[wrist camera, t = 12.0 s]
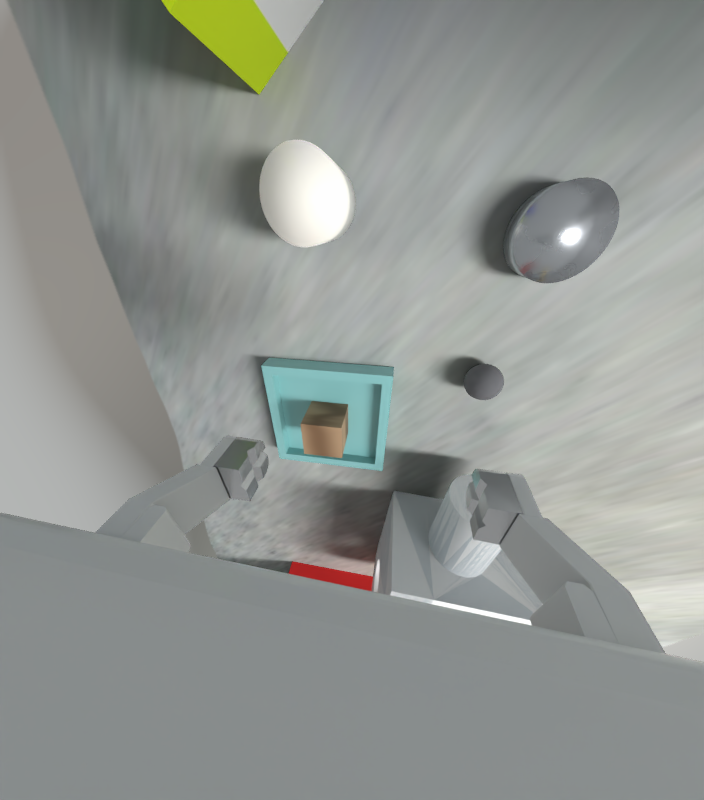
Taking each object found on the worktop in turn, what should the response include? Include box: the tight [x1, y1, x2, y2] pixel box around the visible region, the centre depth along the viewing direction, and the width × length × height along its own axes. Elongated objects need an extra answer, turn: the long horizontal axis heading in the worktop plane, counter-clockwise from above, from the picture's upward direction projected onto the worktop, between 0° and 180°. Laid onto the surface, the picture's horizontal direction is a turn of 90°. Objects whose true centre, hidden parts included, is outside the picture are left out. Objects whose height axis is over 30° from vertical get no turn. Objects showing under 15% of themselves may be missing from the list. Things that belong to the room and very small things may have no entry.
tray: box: [261, 358, 394, 471], centre depth 37 cm, size 16×16×2 cm
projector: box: [372, 475, 542, 625], centre depth 42 cm, size 35×19×15 cm, turn 175°
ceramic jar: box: [259, 140, 356, 247], centre depth 21 cm, size 6×6×7 cm
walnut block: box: [301, 401, 348, 458], centre depth 35 cm, size 5×5×5 cm
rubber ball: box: [464, 364, 504, 400], centre depth 29 cm, size 4×4×4 cm
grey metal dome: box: [503, 178, 619, 283], centre depth 22 cm, size 7×7×3 cm
